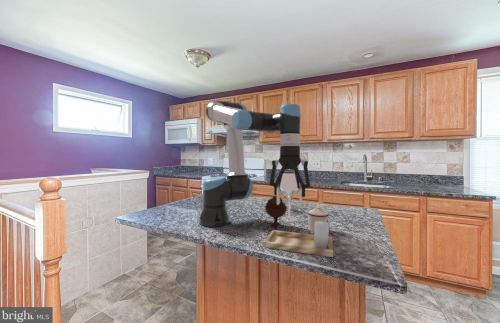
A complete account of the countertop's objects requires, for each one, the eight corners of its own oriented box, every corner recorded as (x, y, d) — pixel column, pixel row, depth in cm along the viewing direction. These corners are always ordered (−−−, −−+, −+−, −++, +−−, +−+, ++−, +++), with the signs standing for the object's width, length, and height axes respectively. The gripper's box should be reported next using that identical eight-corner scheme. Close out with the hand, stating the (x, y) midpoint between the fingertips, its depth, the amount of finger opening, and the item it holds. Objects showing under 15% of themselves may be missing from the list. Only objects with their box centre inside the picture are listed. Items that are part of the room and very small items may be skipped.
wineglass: (300, 223, 81) (300, 173, 81) (277, 221, 83) (277, 173, 82) (299, 217, 89) (300, 172, 89) (279, 215, 91) (279, 171, 90)
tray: (264, 250, 82) (264, 242, 82) (272, 236, 96) (272, 229, 96) (333, 260, 75) (333, 251, 75) (332, 244, 88) (332, 237, 88)
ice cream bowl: (290, 225, 111) (291, 195, 111) (277, 230, 103) (278, 198, 103) (273, 220, 119) (274, 192, 118) (260, 225, 111) (260, 195, 110)
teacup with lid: (330, 236, 97) (330, 209, 97) (308, 234, 98) (309, 208, 98) (325, 227, 109) (325, 203, 108) (306, 226, 110) (306, 202, 110)
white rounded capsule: (313, 248, 81) (314, 224, 81) (314, 243, 86) (314, 220, 85) (328, 250, 79) (328, 225, 79) (328, 245, 84) (328, 221, 84)
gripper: (261, 145, 85) (260, 204, 86) (318, 144, 78) (317, 209, 79) (266, 146, 92) (265, 200, 93) (318, 145, 85) (317, 204, 86)
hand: (289, 204), depth 86 cm, fingers closed on wineglass, 8 cm apart
